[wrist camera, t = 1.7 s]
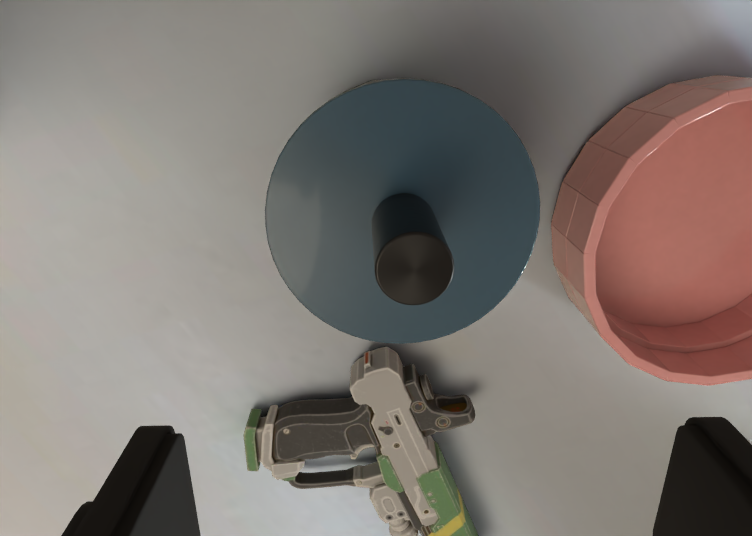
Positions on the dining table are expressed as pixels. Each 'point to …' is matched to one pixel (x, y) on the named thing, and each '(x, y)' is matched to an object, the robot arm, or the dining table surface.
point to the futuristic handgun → (373, 444)
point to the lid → (402, 211)
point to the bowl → (666, 231)
